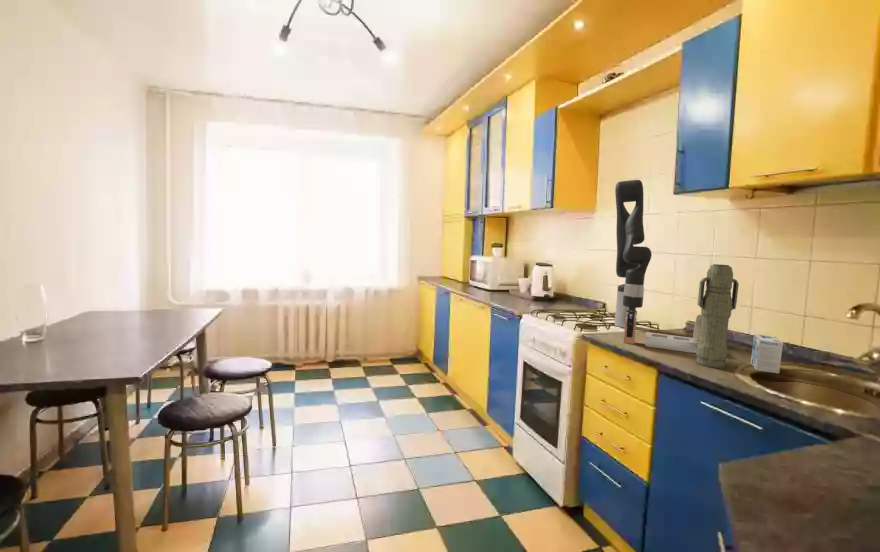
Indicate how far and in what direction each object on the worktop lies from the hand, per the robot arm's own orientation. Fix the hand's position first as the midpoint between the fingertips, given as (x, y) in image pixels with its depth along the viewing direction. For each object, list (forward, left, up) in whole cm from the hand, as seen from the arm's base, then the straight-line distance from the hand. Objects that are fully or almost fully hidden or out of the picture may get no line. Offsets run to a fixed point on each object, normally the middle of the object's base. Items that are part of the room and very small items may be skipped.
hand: (629, 335), depth 183 cm
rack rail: (-2, +19, -3) cm, 19 cm away
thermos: (+19, +27, -3) cm, 33 cm away
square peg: (0, 0, -3) cm, 3 cm away
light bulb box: (+12, +44, -3) cm, 46 cm away
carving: (-20, +28, -3) cm, 35 cm away
